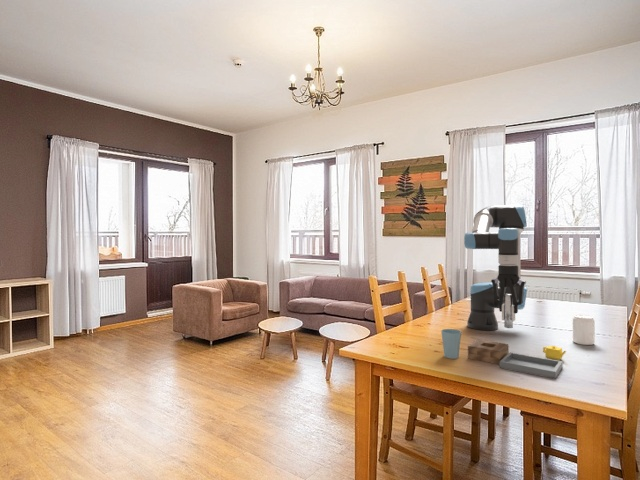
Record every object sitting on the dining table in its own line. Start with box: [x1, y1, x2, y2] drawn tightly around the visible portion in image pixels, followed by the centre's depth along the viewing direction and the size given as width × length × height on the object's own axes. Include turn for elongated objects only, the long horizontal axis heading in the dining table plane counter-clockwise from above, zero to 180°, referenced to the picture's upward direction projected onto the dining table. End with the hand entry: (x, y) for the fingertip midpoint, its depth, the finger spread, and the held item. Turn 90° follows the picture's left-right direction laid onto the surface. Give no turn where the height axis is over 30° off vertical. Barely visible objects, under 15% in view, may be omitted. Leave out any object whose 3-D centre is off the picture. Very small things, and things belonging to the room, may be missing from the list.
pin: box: [503, 294, 514, 329], centre depth 166 cm, size 3×3×14 cm
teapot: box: [542, 345, 567, 361], centre depth 155 cm, size 8×6×5 cm
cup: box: [440, 328, 462, 360], centre depth 159 cm, size 8×8×10 cm
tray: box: [499, 351, 564, 380], centre depth 145 cm, size 18×14×2 cm
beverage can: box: [572, 314, 596, 346], centre depth 175 cm, size 8×8×12 cm
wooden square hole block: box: [467, 338, 510, 365], centre depth 157 cm, size 12×12×5 cm
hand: (508, 319), depth 166 cm, fingers closed on pin, 3 cm apart
